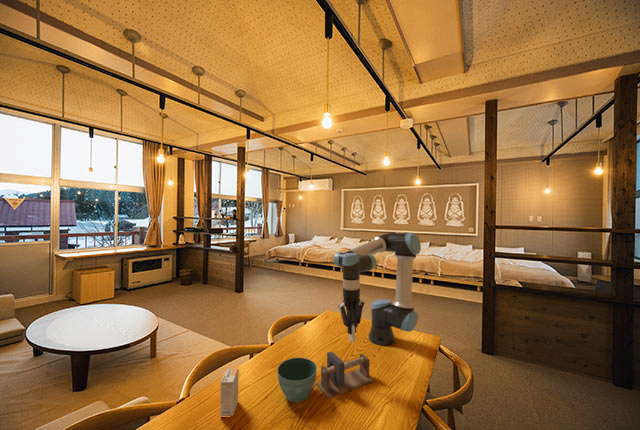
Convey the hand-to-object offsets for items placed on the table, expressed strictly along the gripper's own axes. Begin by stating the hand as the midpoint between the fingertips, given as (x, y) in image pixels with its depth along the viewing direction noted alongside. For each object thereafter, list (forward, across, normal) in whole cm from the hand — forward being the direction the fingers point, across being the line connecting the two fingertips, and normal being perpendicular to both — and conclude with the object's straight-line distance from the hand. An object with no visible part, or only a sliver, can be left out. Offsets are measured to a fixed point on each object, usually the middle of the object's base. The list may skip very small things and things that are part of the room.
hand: (352, 340), depth 113 cm
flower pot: (+17, +26, -3) cm, 31 cm away
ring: (+15, +9, 0) cm, 18 cm away
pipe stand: (+18, +4, 0) cm, 18 cm away
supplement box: (+17, +52, -7) cm, 55 cm away
